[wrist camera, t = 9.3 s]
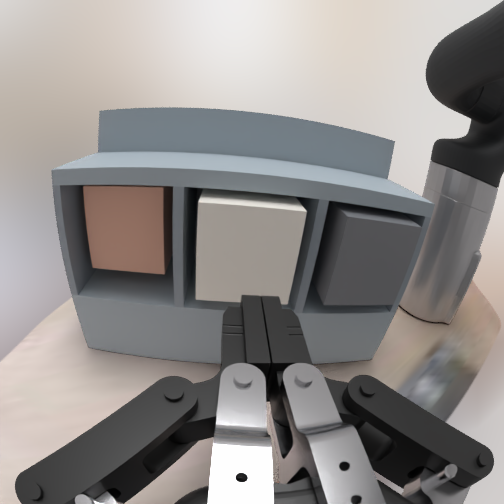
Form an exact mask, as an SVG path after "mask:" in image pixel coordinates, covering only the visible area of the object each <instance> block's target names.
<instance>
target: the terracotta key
mask: <svg viewBox="0 0 504 504" xmlns="http://www.w3.org/2000/svg"><path fill="white" fill-rule="evenodd" d="M83 193H84V206H85V217H86V226H87V234H88V241H89V248H90V255H91V261H92V266H93V268H99V269H109V270H119V271H130V272H141V273H153V274H165V273H166V270H167V267H168V265H169V262H170V259H171V257H172V254H173V186H150V185H85V186H83Z"/></svg>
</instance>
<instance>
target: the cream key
mask: <svg viewBox="0 0 504 504" xmlns="http://www.w3.org/2000/svg"><path fill="white" fill-rule="evenodd" d="M306 214H307V211H306V210H305V208H304V207H303V206H302V205H301V203H300V202H299V201H298V199H297V198H296V197H295V196H289V195H279V194H270V193H260V192H249V191H237V190H225V189H211V188H203V191H202V194H201V196H200V199H199V202H198V218H197V246H196V300H208V301H223V302H241V295H259V296H279V298H280V302H281V304H288V300H289V296H290V291H291V287H292V282H293V278H294V273H295V269H296V264H297V259H298V254H299V250H300V245H301V240H302V235H303V230H304V224H305V219H306Z"/></svg>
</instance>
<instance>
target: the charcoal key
mask: <svg viewBox="0 0 504 504" xmlns="http://www.w3.org/2000/svg"><path fill="white" fill-rule="evenodd" d="M421 230H422V227H421V226H419V225H418V224H417V223H415V222H414V221H412V220H411V219H410V218H408V217H407V216H405V215H404V214H402V213H401V212H399V211H393V210H387V209H382V208H376V207H369V206H363V205H357V204H350V203H343V202H336V201H329V203H328V208H327V213H326V218H325V222H324V227H323V232H322V236H321V240H320V245H319V249H318V253H317V258H316V262H315V266H314V270H313V274H312V278H311V279H312V281H313V283H314V285H315V287H316V290H317V292H318V294H319V296H320V298H321V301H322V303H323V305H393V304H394V302H395V300H396V297H397V295H398V293H399V290H400V288H401V285H402V283H403V280H404V278H405V275H406V273H407V270H408V268H409V265H410V262H411V259H412V257H413V254H414V251H415V248H416V245H417V242H418V239H419V236H420V233H421Z"/></svg>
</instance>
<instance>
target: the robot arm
mask: <svg viewBox="0 0 504 504" xmlns="http://www.w3.org/2000/svg"><path fill="white" fill-rule="evenodd" d="M426 81H427V85H428V88H429V90H430V92H431V93H432V95H433V96H434V97H435V98H436V99H437V100H438V101H439V102H441V103H442V104H443V105H445V106H447V107H448V108H450V109H452V110H454V111H456V112H458V113H461V114H463V115H465V116H467V117H469V118H471V124H470V129H469V132H468V134H467V135H466V136H464V137H462V138H457V139H439V140H437V141H436V142H435V143H434V146H433V150H432V155H431V160H432V161H431V162H430V166H429V170H428V175H427V179H426V183H425V188H424V192H423V196H422V197H423V198H425V199H427V200H429V201H430V202H432V203H434V204H435V206H434V210H433V213H432V217H431V220H430V223H429V227H428V230H427V233H426V236H425V239H424V242H423V245H422V248H421V251H420V254H419V256H418V259H417V262H416V265H415V267H414V270H413V272H412V275H411V277H410V280H409V282H408V285H407V287H406V290H405V292H404V294H403V297H402V299H401V301H400V304H399V305H400V306H401V307H402V308H403V309H405V310H406V311H407V312H409V313H410V314H412V315H414V316H416V317H418V318H420V319H423V320H426V321H431V322H445V323H447V324H450V323H451V321H452V319H453V317H454V315H455V313H456V311H457V310H458V308H459V306H460V304H461V302H462V300H463V298H464V296H465V294H466V292H467V289H468V287H469V285H470V283H471V281H472V278H473V276H474V274H475V272H476V269H477V267H478V264H479V262H480V259H481V253H480V251H479V249H480V246H481V244H482V241H483V238H484V235H485V232H486V229H487V226H488V223H489V220H490V216H491V213H492V210H493V206H494V203H495V199H496V195H497V191H498V189H497V187H499V183H500V178H501V176H502V174H503V172H504V1H502V2H501V3H499V4H498V5H496V6H495V7H493V8H492V9H491V10H489V11H488V12H486V13H484V14H483V15H481V16H479V17H477V18H476V19H474V20H472V21H470V22H469V23H467V24H465V25H464V26H462V27H460V28H459V29H457V30H455V31H454V32H452V33H451V34H449V35H448V36H446V37H445V38H444V39H443V40H442V41H441V42H439V43H438V45H437V46H436V47H435V49H434V50H433V52H432V54H431V55H430V57H429V60H428V63H427V68H426ZM269 401H270V404H271V412H270V415H269V421H270V426H271V430H272V434H273V439H274V443H275V448H276V452H277V456H278V462H279V466H278V477H279V483H273V469H272V444H271V437H270V435H268V432H267V408H266V402H269ZM211 437H214V441H213V451H212V462H211V473H210V484H209V486H206V487H203V488H199V489H197V490H195V491H192V492H190V493H188V494H187V495H185V496H183V497H182V498H181V499H179V500H178V501H177V502H176V503H175V504H463V502H464V500H465V498H466V496H467V494H468V491H469V489H470V486H471V485H473V484H474V483H476V482H478V481H479V480H481V479H482V478H484V477H486V476H487V475H488V474H489V473H490V472H491V471H492V468H493V465H494V458H493V454H492V452H491V451H490V449H489V448H488V447H486V446H485V445H483V444H481V443H479V442H477V441H476V440H474V439H472V438H471V437H469V436H467V435H465V434H464V433H462V432H460V431H459V430H457V429H455V428H454V427H452V426H450V425H448V424H447V423H445V422H444V421H442V420H440V419H439V418H437V417H435V416H434V415H432V414H431V413H429V412H427V411H426V410H424V409H422V408H421V407H419V406H418V405H416V404H415V403H413V402H411V401H410V400H408V399H407V398H405V397H403V396H402V395H400V394H399V393H397V392H396V391H394V390H393V389H391V388H389V387H388V386H386V385H385V384H383V383H382V382H380V381H379V380H377V379H376V378H374V377H371V376H368V375H359V376H356V377H354V378H353V379H351V381H350V382H349V383H346V382H341V381H335V380H331V379H328V378H326V377H324V376H323V374H322V373H321V371H320V370H319V369H318V368H316V367H315V366H313V364H312V361H311V357H310V354H309V351H308V347H307V344H306V341H305V337H304V336H303V331H302V328H301V324H300V321H299V318H298V316H297V315H296V314H295V313H294V312H293V311H292V309H282V306H281V302H280V298H279V296H259V295H241V302H240V307H229V306H228V308H227V309H226V311H225V312H224V314H223V321H222V337H221V370H220V372H219V373H218V374H217V375H216V376H215V377H214V378H212V379H210V380H208V381H204V382H200V383H195V384H193V383H191V382H190V381H189V380H187V379H185V378H183V377H178V376H169V377H165V378H162V379H160V380H159V381H157V382H156V383H154V384H153V385H152V386H150V387H149V388H148V389H146V390H145V391H144V392H142V393H141V394H139V395H138V396H137V397H135V398H134V399H132V400H131V401H130V402H128V403H127V404H125V405H124V406H123V407H121V408H120V409H118V410H117V411H116V412H114V413H113V414H111V415H110V416H108V417H107V418H106V419H104V420H103V421H101V422H100V423H98V424H97V425H95V426H94V427H92V428H91V429H89V430H88V431H86V432H85V433H83V434H82V435H80V436H79V437H77V438H76V439H74V440H73V441H71V442H70V443H68V444H67V445H65V446H64V447H62V448H60V449H59V450H57V451H56V452H54V453H52V454H51V455H49V456H48V457H46V458H44V459H43V460H41V461H40V462H38V463H36V464H35V465H33V466H31V467H30V468H28V469H26V470H25V471H23V472H21V473H20V474H19V475H18V477H17V479H16V482H15V490H16V494H17V497H18V499H19V500H20V502H21V503H22V504H124V503H125V502H127V501H128V500H129V499H131V498H132V497H133V496H134V495H136V494H137V493H138V492H140V491H141V490H142V489H143V488H145V487H146V486H147V485H149V484H150V483H151V482H152V481H153V480H155V479H156V478H157V477H158V476H159V475H161V474H162V473H163V472H164V471H165V470H167V469H168V468H169V467H170V466H171V465H172V464H174V463H175V462H176V461H177V460H178V459H179V458H180V457H181V456H183V455H184V454H185V453H186V452H187V451H188V450H189V449H190V448H191V447H192V446H194V445H195V444H196V443H197V442H198V441H199V440H203V439H207V438H211ZM373 470H374V471H376V472H377V473H379V474H380V475H382V476H383V477H385V478H387V479H388V480H390V481H391V482H393V483H395V484H396V485H398V486H400V487H401V488H403V489H404V492H403V493H402V495H400V494H399V493H397V492H396V491H394V490H392V489H391V488H390V487H388V486H387V485H385V484H384V483H382V482H381V481H379V480H377V479H376V477H375V474H374V472H373Z"/></svg>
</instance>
